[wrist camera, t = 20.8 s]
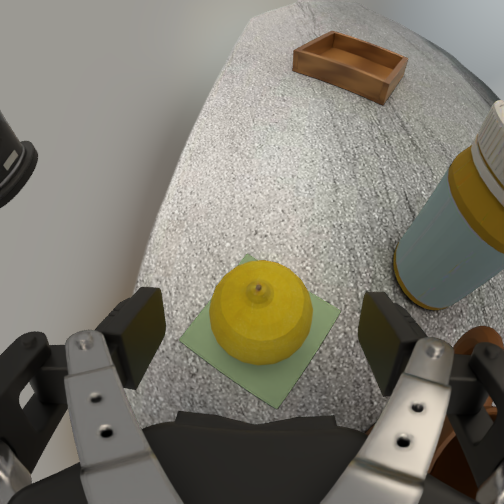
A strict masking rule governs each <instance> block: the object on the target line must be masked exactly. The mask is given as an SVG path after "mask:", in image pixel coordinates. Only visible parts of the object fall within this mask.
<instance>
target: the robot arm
mask: <svg viewBox="0 0 504 504" xmlns="http://www.w3.org/2000/svg"><path fill="white" fill-rule="evenodd" d="M25 156H26V149H25V147H24V146H23V145H22V144H21V143H20V141H19V140H18V138H17V137H16V135H15V134H14V132H13V131H12V129H11V127H10V126H9V124H8V122H7V121H6V119H5V118H4V116H3V114H2V113H1V111H0V190H1V189H3V188H4V187H5V186H6V185H7V184H8V183H9V182H10V181H11V179H12V178H13V177H14V176H15V174H16V173H17V172H18V170H19V169H20V167H21V165H22V164H23V162H24V159H25ZM165 332H166V321H165V314H164V307H163V300H162V293H161V290H160V288H153V287H140V288H139V290H138V291H137V292H136V293H135V294H134V295H133V296H132V297H131V298H128V299H126V300H124V301H122V302H120V303H119V304H118V305H117V306H116V307H115V308H114V309H113V311H111V313H109V315H108V316H107V317H106V318H105V319H104V320H103V321H102V322H101V323H100V324H99V325H98V327H97V328H96V329H95V330H84V331H80V332H77V333H75V334H73V335H71V336H70V337H69V338H68V339H67V340H66V343H65V345H49V343H48V340H47V337H46V335H45V334H44V333H42V332H29V333H26V334H23V335H21V336H20V337H18V338H17V339H16V340H15V341H14V342H13V343H12V344H11V345H10V346H9V347H8V348H7V349H6V350H5V351H4V352H3V353H2V354H1V355H0V504H504V350H503V349H502V348H501V347H499V346H498V345H496V344H493V343H490V342H480V343H478V344H476V345H475V347H474V350H473V352H472V355H461V354H454V349H453V348H452V346H451V345H450V344H449V343H447V342H445V341H444V340H441V339H438V338H433V337H428V336H427V335H426V334H425V333H424V331H423V330H422V329H421V328H420V326H419V325H418V324H417V323H415V320H414V319H413V318H412V317H411V315H410V314H409V313H408V312H407V310H406V309H405V308H403V307H401V306H400V305H398V304H396V303H393V302H392V300H391V299H390V298H389V297H388V295H387V294H386V293H385V292H366V293H365V295H364V298H363V304H362V310H361V315H360V321H359V326H358V339H359V343H360V345H361V347H362V349H363V351H364V354H365V356H366V358H367V360H368V363H369V365H370V367H371V369H372V372H373V374H374V376H375V379H376V381H377V383H378V386H379V388H380V390H381V393H382V395H383V397H386V396H390V398H389V400H388V402H387V404H386V406H385V408H384V410H383V412H382V413H381V415H380V417H379V419H378V421H377V422H376V424H375V426H374V428H373V429H372V431H371V433H370V434H369V435H367V434H365V433H362V432H360V431H357V430H354V429H350V428H346V427H340V426H337V424H336V420H335V415H331V416H315V417H295V418H290V419H285V420H280V421H275V422H270V423H264V424H250V423H246V422H241V421H237V420H233V419H229V418H226V417H222V416H218V415H212V414H202V413H192V412H184V411H178V414H177V417H176V420H175V421H172V422H164V423H159V424H155V425H151V426H148V427H145V428H143V429H141V427H140V425H139V423H138V421H137V419H136V417H135V414H134V412H133V410H132V408H131V405H130V403H129V401H128V398H127V396H126V393H125V391H124V388H127V389H133V390H136V389H137V387H138V385H139V383H140V382H141V380H142V378H143V376H144V374H145V372H146V370H147V368H148V366H149V364H150V363H151V361H152V359H153V357H154V355H155V353H156V351H157V349H158V348H159V346H160V344H161V342H162V340H163V338H164V336H165ZM28 382H30V385H31V387H32V388H33V390H34V392H35V393H34V394H33V396H32V397H31V398H30V400H29V401H28V402H27V404H26V405H25V407H24V408H23V409H22V408H21V406H20V404H19V395H20V392H21V391H22V390H23V389H24V387H25V386H26V385H27V383H28ZM489 396H490V397H491V399H492V400H493V402H494V403H495V405H496V407H497V417H496V420H495V421H494V423H493V421H492V419H491V418H490V416H489V414H488V412H487V411H486V409H485V407H484V406H483V405H484V404H485V402H486V400H487V398H488V397H489ZM67 409H68V410H69V415H70V421H71V425H72V431H73V435H74V440H75V444H76V448H77V452H78V456H79V460H80V462H79V463H77V464H75V465H73V466H71V467H68V468H66V469H64V470H62V471H60V472H58V473H56V474H53V475H51V476H49V477H47V478H44V479H42V480H40V481H37V482H35V483H33V484H32V478H31V474H32V472H33V470H34V468H35V466H36V464H37V462H38V460H39V458H40V457H41V455H42V453H43V451H44V449H45V447H46V445H47V443H48V442H49V440H50V438H51V436H52V435H53V433H54V431H55V429H56V428H57V426H58V424H59V422H60V421H61V419H62V417H63V416H64V414H65V412H66V410H67ZM446 415H447V417H448V419H449V421H450V423H451V425H452V428H453V430H454V432H455V434H456V436H457V439H458V441H459V443H460V445H461V448H462V450H463V452H464V455H465V457H466V459H467V462H468V464H469V467H470V469H471V472H472V474H473V477H474V479H475V482H476V484H477V487H478V490H477V493H476V500H474V499H472V498H470V497H468V496H467V495H465V494H463V493H461V492H459V491H457V490H456V489H454V488H452V487H450V486H449V485H447V484H445V483H443V482H442V481H440V480H438V479H437V478H435V477H433V476H432V475H430V474H428V473H427V472H428V469H429V466H430V464H431V461H432V458H433V455H434V452H435V449H436V446H437V443H438V440H439V437H440V434H441V430H442V427H443V423H444V419H445V416H446Z"/></svg>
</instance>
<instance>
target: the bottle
mask: <svg viewBox="0 0 504 504" xmlns="http://www.w3.org/2000/svg"><path fill="white" fill-rule="evenodd" d="M393 266H394V271H395V275H396V278H397V281H398V283H399V285H400V286H401V288H402V290H403V291H404V293H405V294H406V295H407V296H408V297H409V298H410V299H411V300H412V301H413V302H414V303H416V304H417V305H419V306H421V307H423V308H425V309H430V310H441V309H445V308H447V307H449V306H451V305H453V304H455V303H456V302H458V301H459V300H461V299H462V298H464V297H465V296H467V295H468V294H470V293H471V292H473V291H474V290H476V289H477V288H478V287H480V286H481V285H483V284H484V283H485V282H487V281H488V280H490V279H491V278H492V277H494V276H495V275H496V274H498V273H499V272H500V271H502V270H503V269H504V101H502V100H498V101H496V102H495V103H494V104H493V105H492V107H491V109H490V111H489V113H488V115H487V117H486V119H485V121H484V122H483V124H482V126H481V128H480V130H479V134H477V136H476V137H475V139H474V141H473V143H472V145H471V146H470V147H468V148H467V149H465V150H464V151H463V152H461V153H460V154H458V155H457V157H456V158H455V159H454V161H453V163H452V164H451V165H450V167H449V168H448V170H447V171H446V173H445V175H444V176H443V178H442V179H441V181H440V183H439V184H438V186H437V187H436V189H435V190H434V192H433V193H432V195H431V197H430V198H429V200H428V201H427V203H426V204H425V205H424V207H423V208H422V210H421V211H420V213H419V214H418V216H417V217H416V219H415V220H414V221H413V223H412V224H411V226H410V227H409V228H408V230H407V231H406V233H405V234H404V235H403V237H402V238H401V240H400V241H399V243H398V244H397V246H396V249H395V252H394V262H393Z"/></svg>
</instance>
